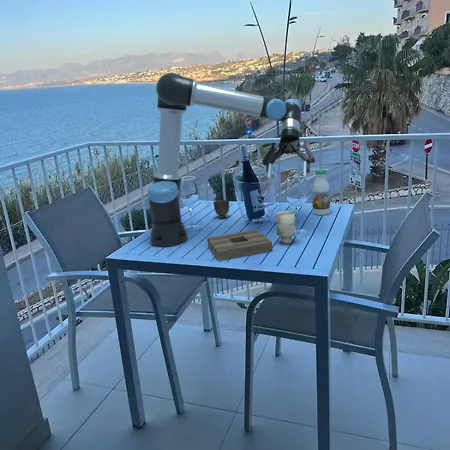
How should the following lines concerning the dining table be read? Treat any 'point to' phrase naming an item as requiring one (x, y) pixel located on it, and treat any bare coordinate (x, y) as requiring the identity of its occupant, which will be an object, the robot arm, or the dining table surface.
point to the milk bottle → (321, 194)
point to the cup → (221, 208)
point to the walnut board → (239, 244)
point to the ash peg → (285, 226)
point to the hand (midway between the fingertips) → (286, 178)
